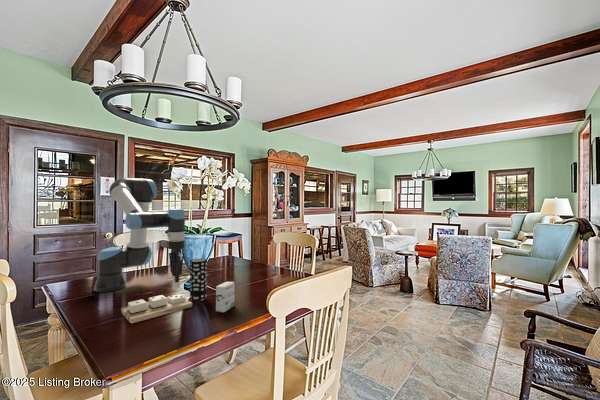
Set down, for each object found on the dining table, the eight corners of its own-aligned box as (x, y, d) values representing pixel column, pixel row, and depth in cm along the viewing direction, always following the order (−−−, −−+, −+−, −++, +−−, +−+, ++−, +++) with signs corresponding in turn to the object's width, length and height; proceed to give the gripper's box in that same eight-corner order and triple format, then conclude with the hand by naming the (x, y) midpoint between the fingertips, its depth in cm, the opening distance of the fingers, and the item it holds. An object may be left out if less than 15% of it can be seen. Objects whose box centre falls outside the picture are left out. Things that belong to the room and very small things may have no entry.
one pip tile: (127, 309, 123) (127, 302, 123) (142, 305, 127) (142, 298, 127) (131, 313, 119) (131, 305, 119) (146, 309, 123) (146, 302, 123)
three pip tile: (167, 302, 135) (167, 296, 135) (180, 299, 140) (180, 293, 140) (172, 306, 131) (172, 299, 131) (184, 303, 135) (184, 296, 135)
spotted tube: (187, 298, 144) (187, 260, 144) (202, 294, 150) (202, 257, 150) (194, 302, 138) (194, 262, 139) (209, 298, 145) (210, 260, 145)
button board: (121, 312, 126) (121, 308, 126) (179, 298, 144) (179, 294, 144) (130, 323, 114) (130, 318, 114) (192, 306, 133) (192, 302, 133)
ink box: (226, 304, 136) (226, 280, 136) (235, 306, 134) (235, 281, 134) (215, 311, 128) (215, 285, 128) (224, 312, 126) (224, 287, 126)
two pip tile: (148, 304, 129) (148, 297, 129) (162, 301, 133) (162, 294, 134) (152, 308, 125) (152, 300, 125) (166, 304, 129) (166, 297, 129)
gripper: (163, 239, 137) (163, 286, 137) (173, 242, 128) (173, 293, 128) (178, 238, 142) (178, 283, 142) (189, 241, 133) (189, 289, 133)
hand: (175, 288), depth 135 cm, fingers closed
